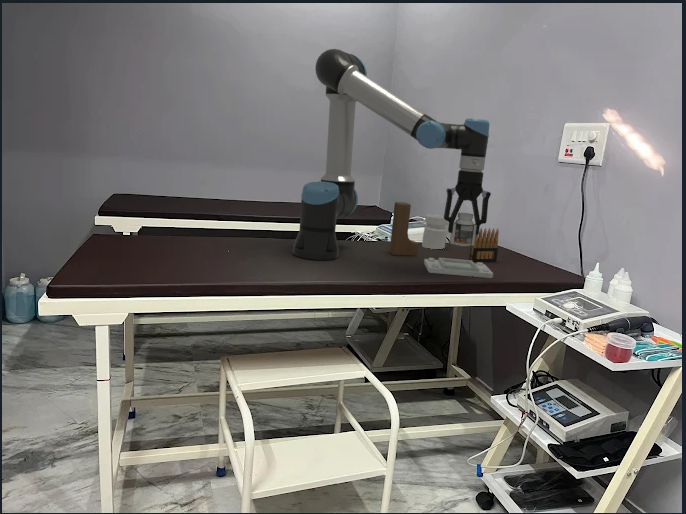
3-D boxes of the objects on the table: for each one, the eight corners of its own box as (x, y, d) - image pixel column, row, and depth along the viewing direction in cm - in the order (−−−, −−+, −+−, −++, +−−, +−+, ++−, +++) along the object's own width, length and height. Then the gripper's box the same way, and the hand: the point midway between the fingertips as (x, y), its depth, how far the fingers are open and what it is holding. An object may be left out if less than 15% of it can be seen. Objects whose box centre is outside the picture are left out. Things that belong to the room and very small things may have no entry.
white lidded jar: (417, 245, 213) (421, 214, 210) (435, 244, 217) (439, 214, 214) (430, 250, 206) (434, 218, 203) (449, 249, 210) (453, 218, 207)
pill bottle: (450, 242, 179) (454, 211, 176) (467, 243, 179) (471, 212, 177) (455, 246, 173) (459, 214, 171) (473, 247, 174) (477, 215, 171)
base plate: (428, 272, 172) (429, 264, 172) (423, 263, 184) (424, 255, 184) (492, 278, 172) (493, 270, 172) (483, 268, 184) (485, 261, 184)
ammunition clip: (493, 260, 198) (498, 227, 195) (496, 262, 196) (501, 228, 193) (468, 261, 193) (473, 227, 191) (471, 262, 192) (476, 228, 189)
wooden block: (412, 253, 198) (418, 203, 194) (417, 256, 194) (423, 205, 190) (388, 252, 196) (394, 201, 192) (393, 255, 192) (398, 203, 187)
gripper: (442, 168, 167) (434, 243, 172) (504, 173, 167) (494, 248, 172) (439, 167, 175) (430, 239, 180) (498, 171, 175) (488, 243, 180)
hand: (461, 243), depth 176 cm, fingers closed on pill bottle, 6 cm apart
